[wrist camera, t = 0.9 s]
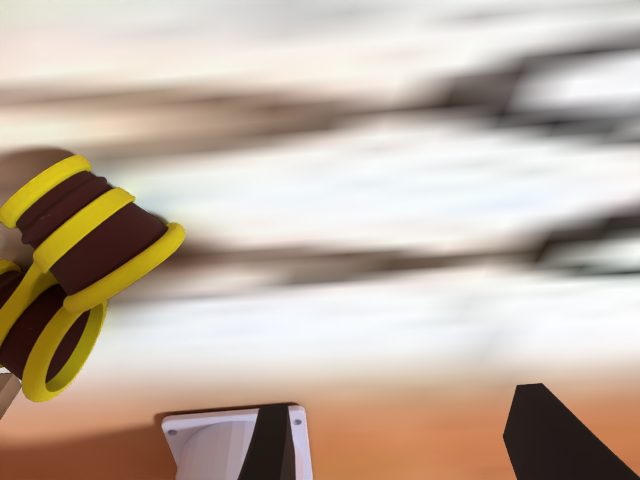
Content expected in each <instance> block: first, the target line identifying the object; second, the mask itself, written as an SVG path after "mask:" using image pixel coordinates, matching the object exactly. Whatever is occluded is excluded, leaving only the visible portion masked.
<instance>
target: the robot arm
mask: <svg viewBox="0 0 640 480" xmlns="http://www.w3.org/2000/svg"><path fill="white" fill-rule="evenodd" d="M161 427H162V430H163V432H164V435H165V437H166V440H167V442H168V445H169V447H170V450H171V452H172V455H173V457H174V460H175V462H176V465H177V467H178V469H177V473H176V478H175V480H313V475H312V466H311V457H310V449H309V440H308V431H307V423H306V414H305V409H304V408H303V407H302V406H298V405H294V406H288V404H280V405H268V406H262V407H261V408H257V409H245V410H233V411H221V412H208V413H196V414H184V415H172V416H166V417H165V418H164V419H163V420H162V424H161ZM503 439H504V442H505V445H506V448H507V451H508V454H509V457H510V460H511V463H512V466H513V469H514V472H515V475H516V477H517V480H640V477H639V476H638V475H637V474H636V473H635V472H633V471H632V470H631V469H630V468H629V467H628V466H627V465H626V464H625V463H624V462H623V461H622V460H621V459H619V458H618V457H617V456H616V455H615V454H614V453H613V452H612V451H611V450H610V449H609V448H608V447H607V446H606V445H605V444H603V443H602V442H601V441H600V440H599V439H598V438H597V437H596V436H595V435H594V434H593V433H592V432H591V431H590V430H589V429H588V428H587V427H586V426H585V425H584V424H583V423H582V422H581V421H580V420H579V419H578V418H577V417H576V416H575V415H574V414H573V413H572V412H571V411H570V410H569V409H568V408H567V407H566V406H565V405H564V404H563V403H562V402H561V401H560V400H559V399H558V398H557V397H556V396H555V395H554V394H553V393H552V392H551V391H550V390H549V389H547V388H546V387H545V386H544V385H543V384H542V383H538V384H526V385H517V387H516V390H515V394H514V398H513V401H512V405H511V409H510V412H509V416H508V420H507V423H506V427H505V431H504V434H503Z"/></svg>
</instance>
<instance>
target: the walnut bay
mask: <svg viewBox="0 0 640 480" xmlns="http://www.w3.org/2000/svg"><path fill="white" fill-rule="evenodd" d="M21 387H22V385H21V383H20V382H19V380H18V378H17V377H16V376H15V375H14V374H13V373H8V374H0V420H1V418H2V417H3V415H4V414H5V412H6V411H7V409H8V407H9V406H10V404H11V403H12V401H13V400H14V398H15V397H16V395H17V394H18V392H19V390H20V389H21Z"/></svg>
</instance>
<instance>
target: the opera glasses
mask: <svg viewBox="0 0 640 480" xmlns="http://www.w3.org/2000/svg"><path fill="white" fill-rule="evenodd" d="M90 170H91V164H90V163H89V162H88V161H87V160H86V159H85V158H84V157H83V156H81V155H74V156H71V157H68V158H66V159H64V160H62V161H60V162H58V163H56V164H54V165H53V166H51V167H49V168H48V169H46V170H45V171H43V172H42V173H40V174H39V175H37V176H36V177H35V178H33V179H32V180H30V181H29V182H28V183H27V184H25V185H24V186H23V187H22V188H20V189H19V190H18V191H17V192H16V193H15V194H14V195H13V196H11V197H10V198H9V199H8V200H7V202H6V203H5V204H4V205H3V206H2V207H1V209H0V222H1V223H2V224H4V225H5V226H6V227H8V228H10V229H12V228H17V227H18V228H19V230H20V231H21V232H22V234H23V235H22V242H23V243H24V244H30V245H31V246H32V247H33V248H34V250H35V251H34V254H33V257H32V258H33V259H34V262H33V264H32V266H31V267H30V269H29V270H28V271H26V272H22V271H21V268H20V267H19V266H18V265H17V264H15V263H13V262H11V261H9V260H0V368H2V367H5V368H6V369H7V370H9V371H10V372H11V373H13V374H14V375H15V376H16V377H18V378H19V379H20V380H21V381H22V391H23V393H24V395H25V396H26V398H28V399H29V400H31V401H33V402H45V401H48V400H50V399H52V398H54V397H55V396H57V395H58V394H60V393H61V392H62V391H63V390H64V389H65V388H66V387H67V386H68V385H69V384H70V383H71V382H72V381H73V380H74V378H75V377H76V376H77V374H78V373H79V371H80V370H81V368H82V367H83V365H84V363H85V362H86V360H87V358H88V356H89V355H90V353H91V351H92V349H93V347H94V345H95V343H96V340H97V338H98V336H99V334H100V331H101V328H102V325H103V322H104V319H105V316H106V311H107V306H108V304H107V300H108V299H109V298H111V297H112V296H114V295H116V294H117V293H119V292H120V291H122V290H123V289H125V288H127V287H128V286H130V285H131V284H132V283H134V282H135V281H137V280H138V279H140V278H141V277H143V276H144V275H146V274H147V273H148V272H150V271H151V270H152V269H154V268H155V267H156V266H158V265H159V264H161V263H162V262H163V261H164V260H165V259H167V258H168V257H169V256H170V255H171V254H172V253H174V252H175V251H176V250H177V249H178V248H179V247H180V245H181V244H182V242H183V240H184V239H185V230H184V228H183V227H182V226H181V225H180V224H178V223H169V224H166V225H165V224H163V223H162V222H160V221H159V220H157V219H156V218H154V217H153V216H152V215H150V214H149V213H147V212H146V211H144V210H143V209H142V208H140V207H139V206H137V205H136V204H134V203H133V202H134V201H135V199H136V198H135V197H134V196H132V195H131V194H129V193H128V192H127V191H125V190H124V189H122V188H120V187H116V188H114V189H113V188H111V187H110V186H108V185H107V180H106V178H105V177H96V176H94V175H92V174H91V173H90Z"/></svg>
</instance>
